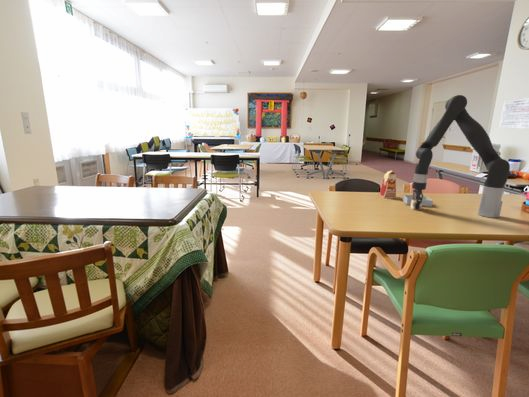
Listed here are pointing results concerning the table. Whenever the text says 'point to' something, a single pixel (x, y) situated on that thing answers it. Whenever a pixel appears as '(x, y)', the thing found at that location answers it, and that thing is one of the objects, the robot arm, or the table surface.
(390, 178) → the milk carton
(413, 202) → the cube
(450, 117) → the robot arm
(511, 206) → the table surface
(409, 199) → the bin
